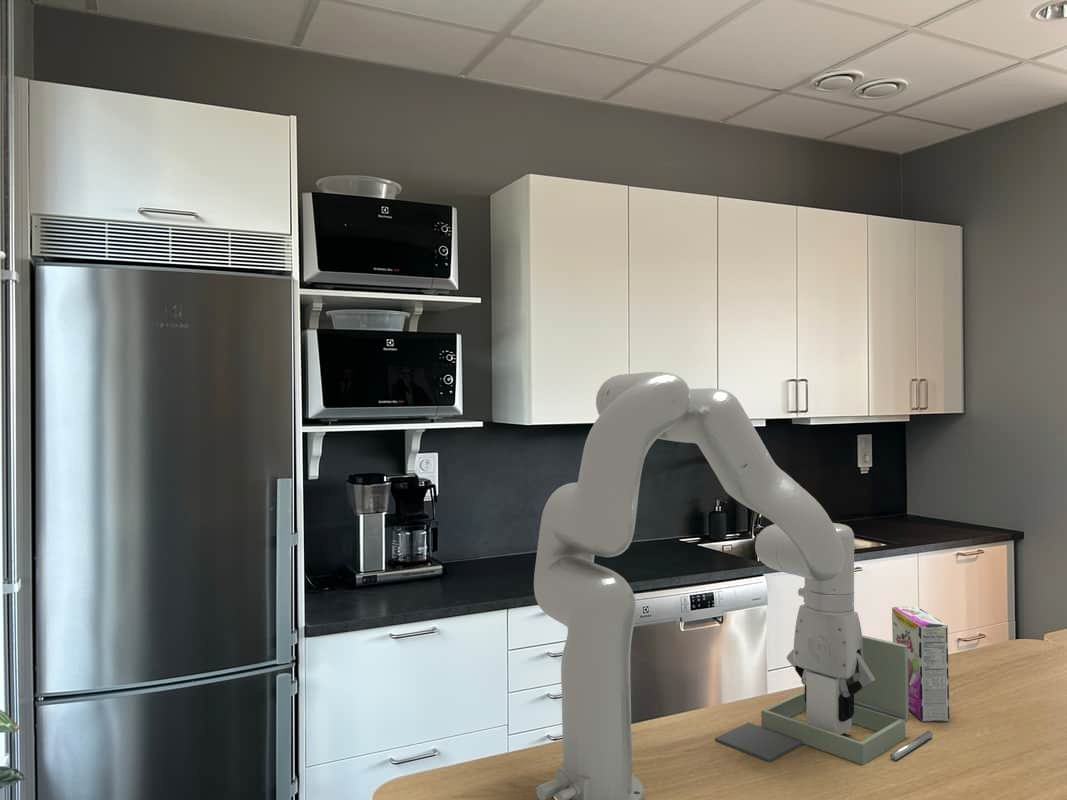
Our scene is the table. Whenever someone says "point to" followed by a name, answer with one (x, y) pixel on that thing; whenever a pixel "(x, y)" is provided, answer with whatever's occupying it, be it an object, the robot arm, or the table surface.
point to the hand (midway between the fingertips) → (828, 712)
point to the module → (824, 703)
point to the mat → (759, 741)
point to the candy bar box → (924, 662)
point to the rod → (911, 745)
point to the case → (857, 708)
